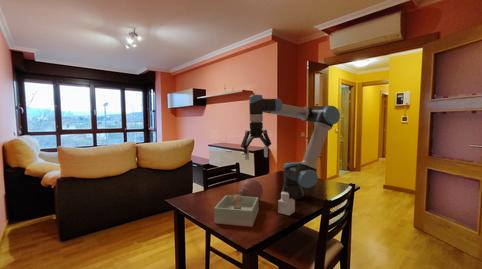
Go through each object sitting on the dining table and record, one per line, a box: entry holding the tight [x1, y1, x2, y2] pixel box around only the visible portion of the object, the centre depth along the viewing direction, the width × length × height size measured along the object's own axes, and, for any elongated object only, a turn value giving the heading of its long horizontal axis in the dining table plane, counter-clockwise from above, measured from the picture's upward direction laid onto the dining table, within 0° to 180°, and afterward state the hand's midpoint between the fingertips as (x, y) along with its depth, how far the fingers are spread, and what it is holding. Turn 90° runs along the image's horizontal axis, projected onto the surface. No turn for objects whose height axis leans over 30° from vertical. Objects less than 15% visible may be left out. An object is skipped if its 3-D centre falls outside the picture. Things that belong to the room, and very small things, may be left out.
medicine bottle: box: [277, 190, 296, 216], centre depth 129 cm, size 7×7×12 cm
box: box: [213, 194, 260, 228], centre depth 124 cm, size 20×20×8 cm
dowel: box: [233, 193, 241, 209], centre depth 124 cm, size 4×4×12 cm
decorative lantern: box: [237, 178, 264, 202], centre depth 143 cm, size 15×20×15 cm
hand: (256, 158), depth 132 cm, fingers open, 13 cm apart
